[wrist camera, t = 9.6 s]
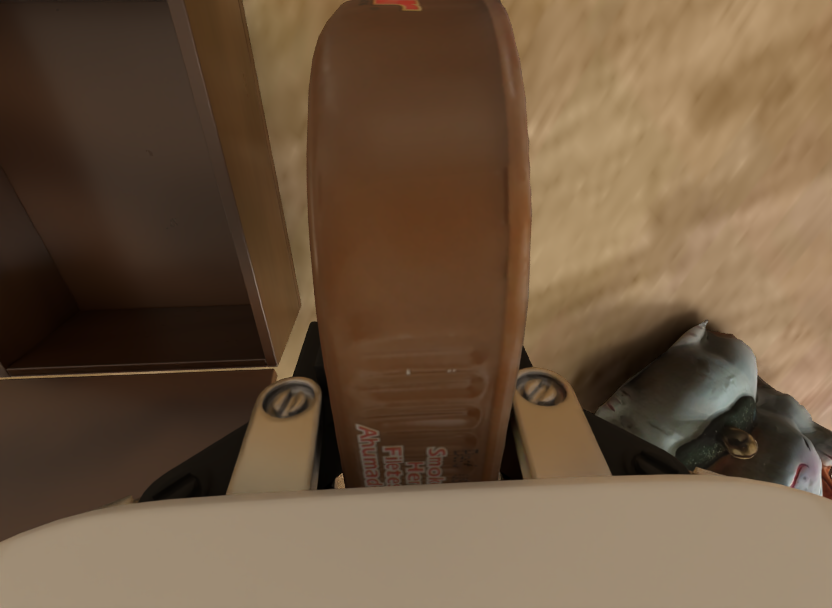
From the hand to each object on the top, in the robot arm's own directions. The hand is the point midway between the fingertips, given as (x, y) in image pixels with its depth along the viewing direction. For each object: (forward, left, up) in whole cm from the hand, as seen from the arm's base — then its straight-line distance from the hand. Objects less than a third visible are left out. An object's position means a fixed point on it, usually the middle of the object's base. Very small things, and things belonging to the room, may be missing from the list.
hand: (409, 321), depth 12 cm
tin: (0, 0, -2) cm, 3 cm away
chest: (-15, +1, -14) cm, 21 cm away
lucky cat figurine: (+22, -17, -14) cm, 31 cm away
